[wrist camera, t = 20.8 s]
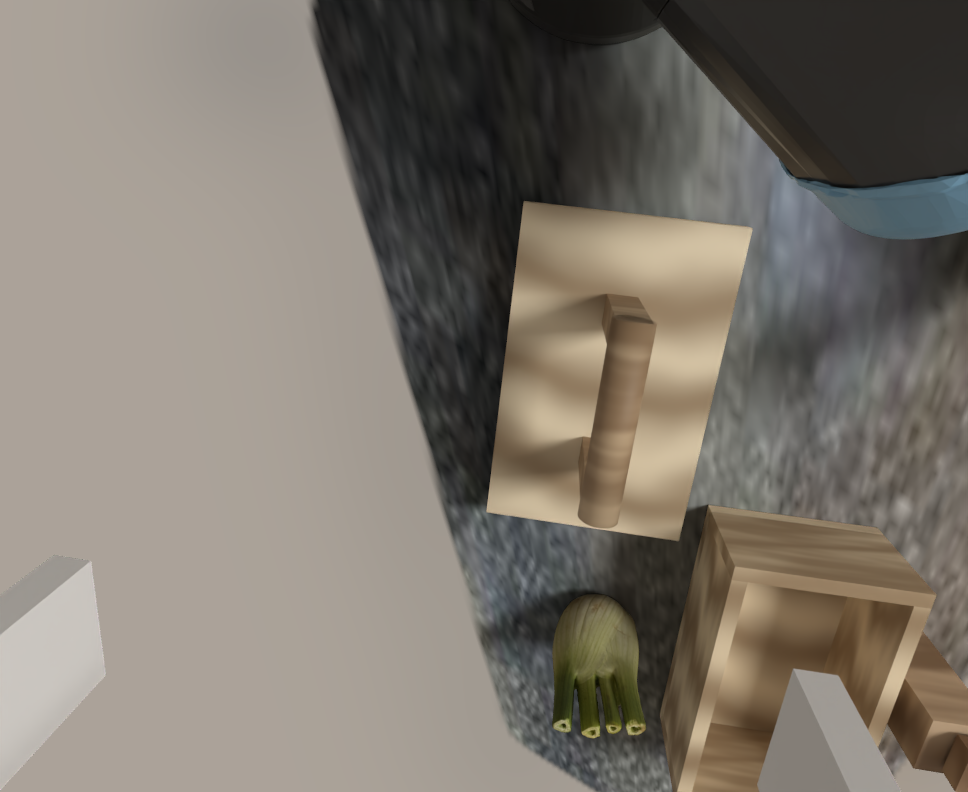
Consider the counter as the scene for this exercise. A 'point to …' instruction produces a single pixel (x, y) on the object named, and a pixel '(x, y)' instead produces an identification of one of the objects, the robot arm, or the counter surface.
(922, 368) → the counter surface
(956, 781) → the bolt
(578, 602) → the fennel bulb
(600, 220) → the lid
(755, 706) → the toolbox
